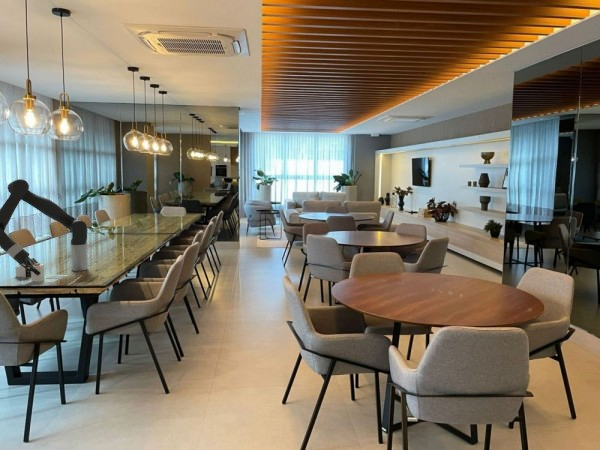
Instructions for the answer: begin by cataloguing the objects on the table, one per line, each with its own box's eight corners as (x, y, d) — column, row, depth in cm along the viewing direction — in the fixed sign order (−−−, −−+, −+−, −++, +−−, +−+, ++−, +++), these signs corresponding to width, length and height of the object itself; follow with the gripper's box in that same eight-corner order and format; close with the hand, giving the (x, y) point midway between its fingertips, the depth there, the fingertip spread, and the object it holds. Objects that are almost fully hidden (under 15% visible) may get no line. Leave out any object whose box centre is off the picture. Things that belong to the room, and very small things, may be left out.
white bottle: (31, 281, 269) (30, 264, 268) (35, 279, 274) (34, 262, 273) (41, 281, 270) (40, 264, 269) (44, 279, 275) (43, 262, 274)
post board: (44, 276, 287) (44, 268, 287) (68, 276, 287) (68, 269, 287) (26, 283, 269) (26, 275, 268) (52, 284, 268) (51, 276, 268)
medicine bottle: (25, 279, 279) (25, 259, 278) (15, 278, 281) (14, 259, 279) (34, 276, 286) (34, 257, 285) (25, 275, 288) (24, 256, 286)
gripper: (17, 251, 262) (41, 271, 265) (27, 246, 276) (50, 266, 279) (7, 260, 262) (31, 280, 265) (18, 255, 276) (41, 275, 279)
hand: (41, 273), depth 272 cm, fingers closed on white bottle, 5 cm apart
